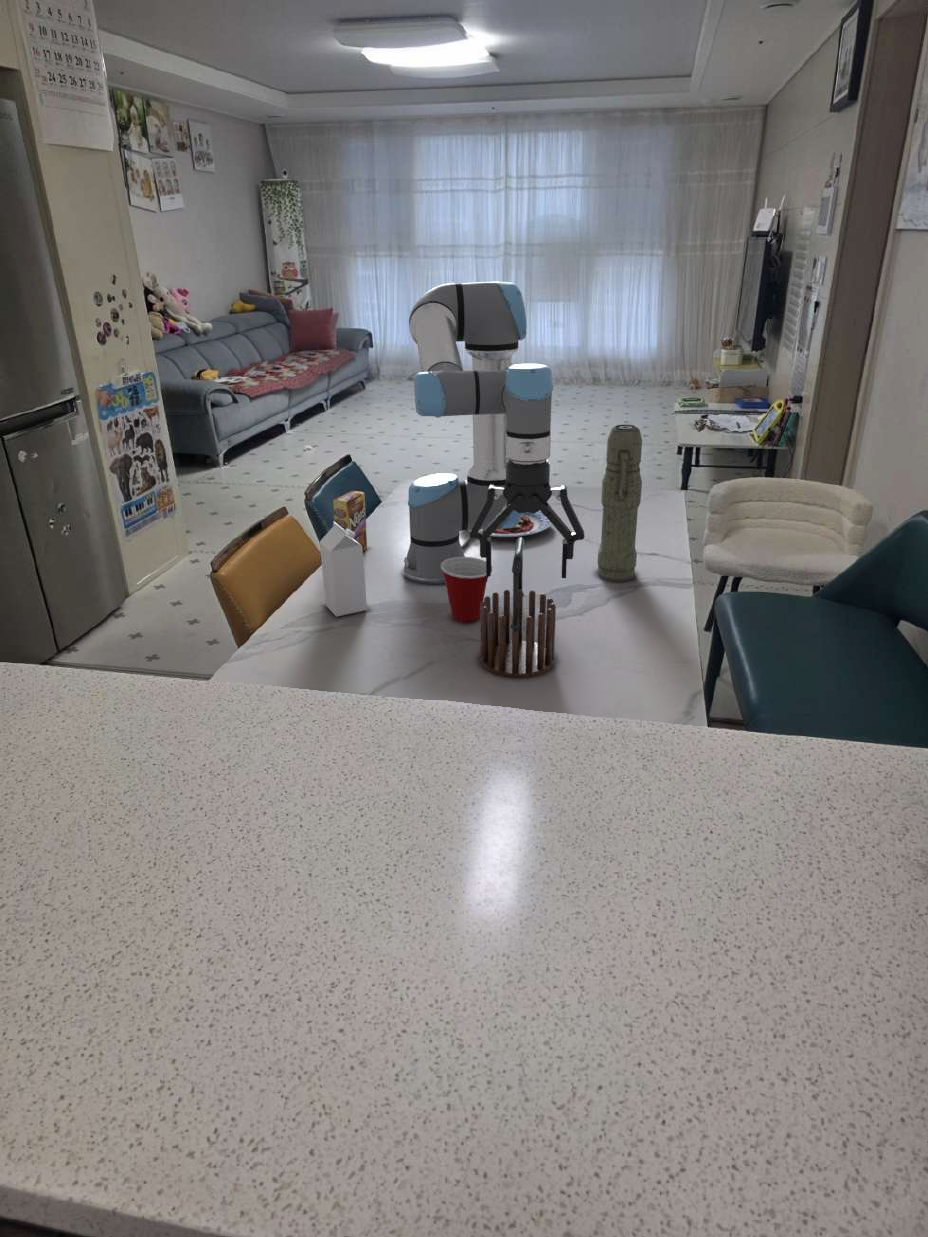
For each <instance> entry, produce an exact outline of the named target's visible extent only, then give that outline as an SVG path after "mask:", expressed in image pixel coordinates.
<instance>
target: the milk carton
mask: <svg viewBox="0 0 928 1237" xmlns="http://www.w3.org/2000/svg"><path fill="white" fill-rule="evenodd" d="M332 524H333V525H332V527H331V529H329V531H327V533H326V534H325V535H324V536H323V537H322V539H320V541H319V550H320V559H321V560H320V562H321V570H322V580H323V590H324V601H325V607H327V609H329V611H330V612H331V613H332V614H333V615H334V617H337V618H338V617H342V616H346V615H351V614H355V613H360V612H364V611H368V605H367V604H368V603H367V602H368V601H367V591H366V578H365V565H364V552H363V551H364V550H362V546H361V545H360V544H359V543H358V542H357V541H355V540H354V539H353V538H354V536H355V533H353V532H352V531H350V530H349V529H346V531H345V530H344V529H343V528H342V527H340V526H339V525H338V524H337V523H336V522H335V521H334V520H333V521H332Z"/></svg>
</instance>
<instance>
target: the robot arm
mask: <svg viewBox="0 0 928 1237" xmlns="http://www.w3.org/2000/svg"><path fill="white" fill-rule="evenodd" d="M525 307H526V306H525V302H524V297H523V293H522V291H521V289H520V287H519V286H518V285H517V284H516V283H515V282H508V281H498V280H497V281H484V282H483V281H482V282H481V281H479V282H461V283H456V282H452V283H451V282H448V283H443V284H440V285H438V286H435V287H433V288H431V289H430V290H428V291H427V292H425V293H424V294H423V295H422V296H420V297H419V299H418V300H417V301H416V302H415V304H413V307H412V309H411V311H410V314H409V319H408V328H409V333H410V336H411V338H412V340H413V341H414V343H415V344H416V345H417V350H418V357H419V362H420V369H421V372H418V373H417V374H416V375H414V378H413V380H414V381H413V387H414V388H413V389H414V404H415V411H416V414H417V415H418V416H420V417H435V418H441V417H457V416H472V444H473V446H472V447H473V454H472V455H473V464H472V466H471V468H469V469H468V471H466V480H460V479H459V477H458V475H456V474H455V473H450V472H449V473H446V472H440V473H433V474H429V475H424V476H421V477H419V478H417V479H415V480H414V481H412V482H411V484H410V485H409V486H408V500H407V506H408V511H409V514H408V515H409V516H408V517H409V536H410V542H409V547H408V551H407V554H406V556H404V559H403V563H404V567H403V572H404V576H405V577H406V578H407V579H409V580H410V581H413V582H416V583H421V584H426V585H427V584H428V585H436V584H437V585H440V584H446V582H445V578H444V573H443V571H442V569H441V563H442V562H443V561H444V560H446V559H450V558H454V557H466V555H465V554H464V550H465V549H466V548H467V547H468V545H469V544H470V542H471V541H472V540H473V539H476V540H478V541H479V557H480V559H485V561H486V576H487V577H488V578H490V577H491V576H492V572H491V566H492V537H491V536H490V535H491V534H492V533H493V532H494V531H495V530H496V529H497V530H500V529H503V528H512V527H515V526H516V525H517V524H518V523H519V521H520V519H521V516H522V513H525V512H529V513H536V512H538V511H541V512H542V513H543V515H544V516H546V517H547V518H548V519H549V521H550V522H551V523H552V524H551V525H552V526H553V527H554V528H555V529H556V530H557V531H558V533H559V534H560V535H561V536H562V537H563V538H562V549H561V550H562V553H561V579H566V578H567V563H568V561H567V560H573V559H574V551H575V550H574V548H575V547H574V546H575V542H577V541H582V540H584V539H585V530H584V529H583V527H582V524H581V522H580V520H579V518H578V516H577V514H576V512H575V510H574V507H573V506H572V504H571V501H570V499H569V496H568V488H567V486H566V485H565V484H562V485H560V486H559V487H551V484H550V473H551V471H550V469H551V468H550V467H551V462H550V460H549V459H550V457H551V436H552V434H551V428H552V427H551V426H552V401H553V400H552V398H553V397H552V396H553V395H552V394H553V391H554V384H553V375H552V374H553V373H552V369H551V368H550V367H549V366H548V365H546V364H541V363H518V364H513V365H512V357H513V355H515V354H516V352H517V351H518V350H519V341H523V340H525V339H526V337H527V328H528V327H527V326H528V325H527V314H526V308H525ZM457 342H458V343H459V342H464V351H465V352H466V353H467V354H468V355H469V356H470V357H471V370H464V367H463V363H462V359H461V355H460V352H459V347H458V344H457ZM552 496H554V497H555V499H556V500H557V501H560V503H561V506H562V508H563V510H564V513H565V515H566V517H567V519H568V522H569V523H570V525H571V527H572V529H573V532H572V530H571V529H570V528H569V527H568V525H566V523H565V522H564V521H563V520H562V519H561V517H560V516H559V515H558V514H557V512H555V510H554V509H553V508H552V506H551V505H550V504H549V502H548V501H549V500H550V499H551V497H552ZM468 530H471V531H470V532H469V531H468ZM480 530H483V531H480ZM465 531H467V532H469V536H468V538H467V539H466V541H465V542H464V543H463V544H462V545H461V542H460V532H465Z"/></svg>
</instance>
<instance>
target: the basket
mask: <svg viewBox="0 0 928 1237" xmlns="http://www.w3.org/2000/svg"><path fill="white" fill-rule="evenodd" d="M524 545H525V539H524V538H523V537H522V536H519V537H517V539H516V544H515V549H514V555H513V559H512V560H513V561H512V567H511V572H512V623H511V619H510V618H511V592H510V590H509V589H504V590H503V614H501V615H500V616H499V614H500V613H499V612H500V611H499V608H500V606H499V604H500V602H499V600H500V599H499V593H498V592H497V591H494V592H493V593H492V595H491V597H490V596H489V595H485V596H484V599H483V602H481V603H480V618H479V620H480V621H479V622H480V624H479V625H480V661H481V664H482V666H483V667H484V668H485V669H486V670H487V671H489V672H490V673H493V674H495V675H498V676H500V677H501V676H502V677H508V678H529V677H535V676H538V675H542V674H544V673H546V672H547V671H548V670H550V669H551V668H552V666H553V665H554V660H555V642H556V616H557V615H556V611H557V605H556V604H555V603H554V599H553V598H551V597H549V598H547V595H546V593H540V595H539V614H538V615H537V642H535V640H536V639H535V638H536V637H535V635H536V591H535V590H529V593H528V616H527V617H526V619H525V640H523V617H524V616H523V614H524V612H523V610H524V608H523V607H524V606H523V605H524V600H523V599H524V598H525V593H524V591H523V572H524V571H523V570H524V568H523V567H524V566H523V565H524V563H523V562H524V561H523V560H524ZM491 605H492V607H491ZM491 608H492V610H491ZM510 630H511V631H510ZM510 634H512V635H510ZM510 637H512V638H510ZM511 639H512V640H511Z"/></svg>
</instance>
